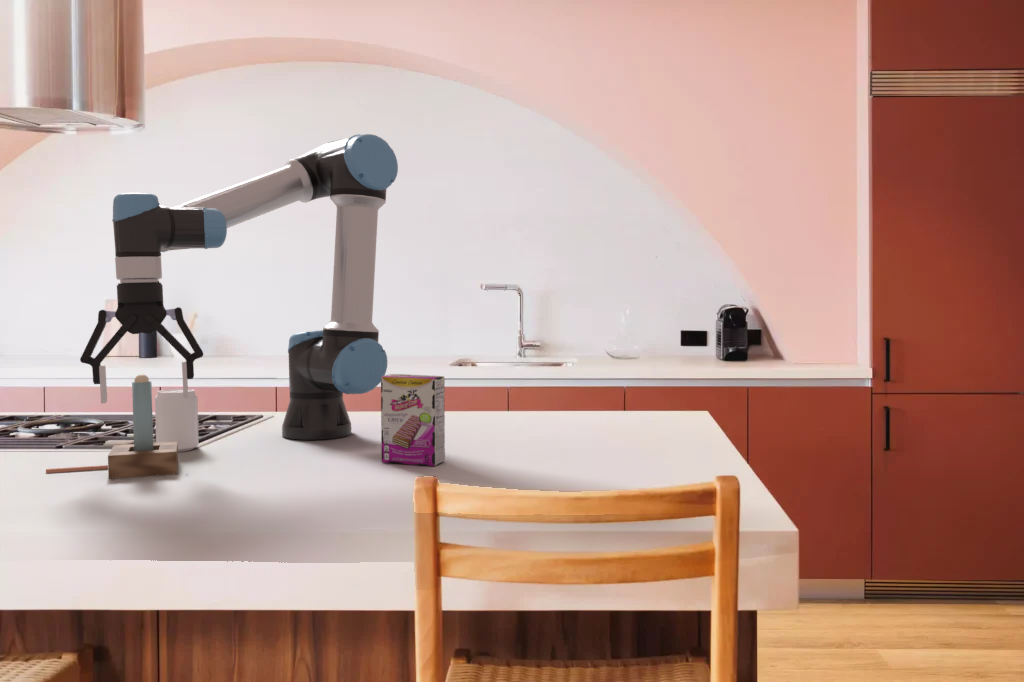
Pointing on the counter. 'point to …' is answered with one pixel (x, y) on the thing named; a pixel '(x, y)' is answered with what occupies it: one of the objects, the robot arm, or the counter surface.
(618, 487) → the counter surface
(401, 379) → the candy bar box
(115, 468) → the wooden block with hole
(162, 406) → the beverage can
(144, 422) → the grey-green rod
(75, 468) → the copper rod
